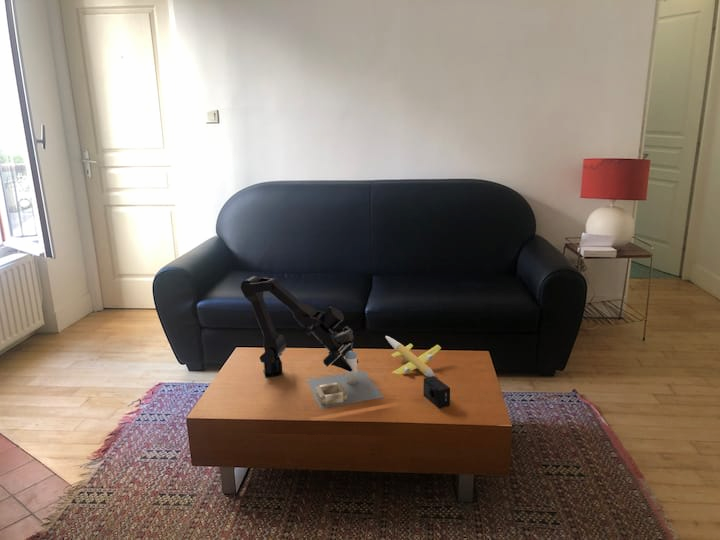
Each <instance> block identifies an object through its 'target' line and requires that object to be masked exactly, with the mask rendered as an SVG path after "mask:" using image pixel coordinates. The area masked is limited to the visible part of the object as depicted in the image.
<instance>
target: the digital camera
mask: <svg viewBox="0 0 720 540" xmlns="http://www.w3.org/2000/svg"><path fill="white" fill-rule="evenodd" d="M423 397H424V398H425V399H427V400H428V401H429V402H431V404H433V405H434V406H436V407H437V409H444V408H447V407H451V388H450V386H448V385H447V384H446V383H444V382H443V381H441V380H440V379H438V377H436V376H431V377H427V376H426V377H424V378H423Z"/></svg>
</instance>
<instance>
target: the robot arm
mask: <svg viewBox="0 0 720 540" xmlns="http://www.w3.org/2000/svg"><path fill="white" fill-rule="evenodd" d="M240 290H241V292H242V294H243V296H244V297H245V299H246V300H248V302H250V304H251V306H252V309H253V311H254V313H255V317H256V320H257V322H258V324H259V327H260V329H261V333H262V335H263V349H264V352H263V353H262V354H261V355H260V356H259V360H260V362H261V363H263V364H262V365H263V375H264V377H265V378H270V377H279V376H282V375H283V373H282V372H283V362H282V359H281V358H280V357H281V356H282V355H283V353H284V351H285V350H286V348H287V346H286V344H287V342H286V340H285V337H284V334H279V333H278V332H277V330H276V328H275V326H274V324H273V321H272V318H271V316H270V312H269V310H268V307H267V304H266V301H265V299H264V292H269V293H270V294H271V295H273V297H275V299H277V300H278V301H279V302H281V304H283V305H284V306H285V307H286V308H287V309H289V310H290V311H291V313H292V314H293V317H294V319H295V320H296V321H297V323H298V324H299V325H300V326H301V327H304V328H306V330H307V331H306V335H307V336H310V335H311V334H312V335H314V337H315V338H316V339H317V340H319V342H320V346H321V348H323V347H325V348H326V349H327V350H328V353H327V354H328V355H327V356H326V357H324V359H323V364H324V365H325V366H326V367H327V368H328V367H329V366H331V367H332V366H333V367H337V368H340V369H342V370H347V371H350V372H351V371H352V368H351V367H350V365H349V364H348V363H347V362H346V360H345V354H346V353H347V352H348V351H354V349H353V345H354V342H353V341H354V340H355V336H354V335H353V333H354V330H353V329H351V328H350V327H349V326H345V327H344V328H343V329H342V331H341V332H339V333H338V332H337V331H332V330H334V329H335V328H336V327H337V326H338V325H339V324H340V323H341V322H343V321H344V319H345V316H344V314H343V313H342V311H341V310H340V309H338V308H336V307H333V306H332V305H330V306H329V307H328V308H327V309H326V311H320V310H317V309H316V308H314V307H313V306H311V305H309V304H307V303H305V302H302V301H301V300H299V299H298V298H297V297H296V296H295V295H293V293H291V292H290V291H289V290H288V289H287V288H285V287H284V286H283V285H282V284H281V283H280V282H279V281H278V279H276V278H274V277H272V278H268V277H258V276H255V275H252V276H251V277H249V278H247V279H245V280H243V281H242V282H241V283H240ZM357 364H359V359H357Z"/></svg>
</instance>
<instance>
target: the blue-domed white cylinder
mask: <svg viewBox="0 0 720 540" xmlns="http://www.w3.org/2000/svg"><path fill="white" fill-rule="evenodd" d="M344 359H345V360H346V362H347V363H348V364H349V365H350V367H351V368H352V371H351V372H350V371H347V370H345V369H344V370H345V371H344V372H345V375H346V383H348V384H355V383H357V371H358V363H357V360H358V354H357V353H356V351H354V350H353V351H348V352H347V353H346V354H345V356H344Z"/></svg>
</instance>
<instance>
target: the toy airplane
mask: <svg viewBox="0 0 720 540" xmlns="http://www.w3.org/2000/svg"><path fill="white" fill-rule="evenodd" d="M385 339H386V340H387V342H388V343H389V344H390V346H392V348H393V349H394V350H395V352H393V353H391V354H390V355H391V357H392V358H396V357H401V359H402V361H403V362H404V363H405V364H403V365H402V366H400V367H398V368H397V369H395V370H393V371H391V374H398V375H401V374H402V375H405V374H407V373H409V372H412V371H413V370H418V371H419V372H420V373H421V374H423V375H424V376H426V378H427V377H431V376H435V373H434V371H433V369H432V368H431V367H430V366H429V365H428V364H426V363H428V362H429V361H430V360H432V359H433V358H434V356H435V355H436V354H437V353H438V352H439V351H440V350H441V349H442V347H441V346H440V345H439V344H435V346H433V347H431V348H430V349H428V350H427V351H426V352H423V353H422V354H421V355H419V356H416V355H415V354H414V353H413V352H412V351H411V349H412V348H413V347H414V345H413V344H412V343H409V344H408V345H406V346H405V345H403V344H402V343H400V342H398V341H397V340H396V339H394V338H392V337H390V336H388V335H385ZM435 377H436V376H435Z"/></svg>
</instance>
